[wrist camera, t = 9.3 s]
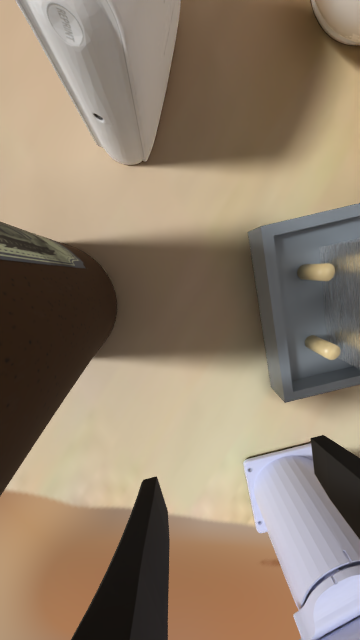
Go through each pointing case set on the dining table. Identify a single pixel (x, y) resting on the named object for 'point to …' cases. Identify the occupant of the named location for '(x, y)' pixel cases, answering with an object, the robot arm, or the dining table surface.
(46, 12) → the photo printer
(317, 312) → the tray
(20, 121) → the dining table surface
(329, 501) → the robot arm
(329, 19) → the lidded bowl
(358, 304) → the block
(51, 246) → the olive oil
